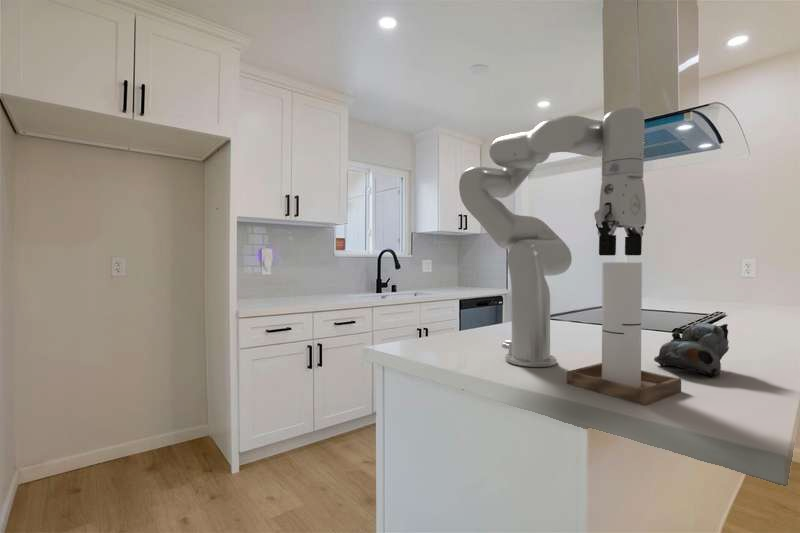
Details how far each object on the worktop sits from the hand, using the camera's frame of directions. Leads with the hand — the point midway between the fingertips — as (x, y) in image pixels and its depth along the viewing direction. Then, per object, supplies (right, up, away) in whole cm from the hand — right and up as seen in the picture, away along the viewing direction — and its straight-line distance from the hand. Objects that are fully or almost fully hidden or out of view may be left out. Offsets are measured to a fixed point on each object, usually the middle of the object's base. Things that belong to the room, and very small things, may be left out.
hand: (620, 255), depth 84 cm
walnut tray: (0, -27, 0) cm, 27 cm away
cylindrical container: (0, -27, 0) cm, 27 cm away
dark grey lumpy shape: (+23, -27, +12) cm, 38 cm away
